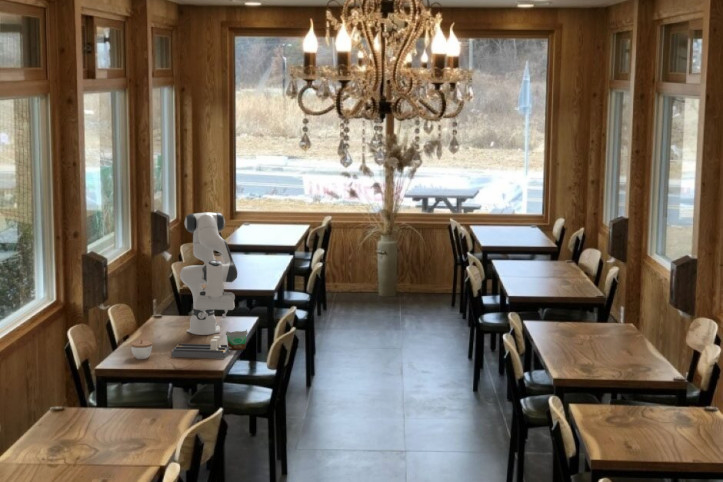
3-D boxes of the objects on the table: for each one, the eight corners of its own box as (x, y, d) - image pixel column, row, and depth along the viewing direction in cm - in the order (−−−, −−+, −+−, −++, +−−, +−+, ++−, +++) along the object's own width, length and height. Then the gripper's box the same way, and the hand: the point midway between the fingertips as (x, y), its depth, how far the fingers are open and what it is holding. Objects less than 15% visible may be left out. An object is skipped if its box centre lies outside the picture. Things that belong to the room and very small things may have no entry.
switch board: (177, 350, 571) (177, 343, 570) (229, 352, 570) (229, 344, 569) (171, 356, 558) (171, 349, 557) (224, 358, 557) (224, 350, 556)
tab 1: (210, 349, 561) (210, 339, 561) (218, 349, 561) (218, 339, 560) (209, 350, 558) (209, 340, 558) (217, 351, 558) (217, 340, 557)
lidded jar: (149, 354, 563) (148, 336, 562) (154, 359, 554) (154, 341, 552) (128, 356, 558) (128, 338, 557) (134, 361, 549) (134, 343, 547)
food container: (229, 352, 570) (229, 333, 568) (225, 349, 575) (225, 331, 574) (251, 349, 576) (251, 331, 574) (247, 347, 581) (247, 329, 579)
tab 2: (213, 346, 568) (213, 336, 567) (221, 346, 568) (221, 336, 567) (212, 347, 565) (212, 337, 564) (220, 348, 565) (220, 337, 564)
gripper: (235, 291, 562) (235, 316, 564) (197, 289, 563) (197, 315, 565) (233, 293, 555) (233, 319, 558) (194, 292, 556) (194, 318, 559)
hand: (215, 317), depth 561 cm, fingers open, 8 cm apart
